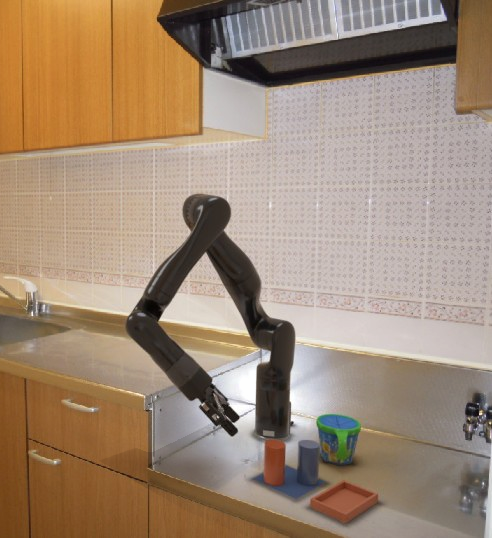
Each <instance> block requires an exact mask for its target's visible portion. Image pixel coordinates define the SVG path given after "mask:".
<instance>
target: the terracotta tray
mask: <svg viewBox="0 0 492 538" xmlns="http://www.w3.org/2000/svg"><path fill="white" fill-rule="evenodd" d="M309 500H310V501H309V502H310V503H309V506H310V508H311V509H313V510H315V511H317V512H320V513H321V514H324V515H326V516H328V517H331V518H333V519H335V520H337V521H340V522H342V523H344V524H347V523H349V522H350V521H351V520H353V519H355V518H357V517H358V516H359V515H361V514H362V513H364V512H365V511H367V510H368V509H369V508H371V507H372V506H374V505H376V504H377V503H378V501H379V493H377V492H375V491H372V490H370V489H367V488H365V487H362V486H360V485H357V484H355V483H352V482H349V481H347V480H345V479H343V480H340V481H339V482H337V483H336V484H334V485H332V486H330V487H329V488H327V489H325V490H323V491H322V492H320V493H318V494H316V495H315V496H313V497H311V498H310V499H309Z"/></svg>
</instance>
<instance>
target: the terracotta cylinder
mask: <svg viewBox="0 0 492 538" xmlns="http://www.w3.org/2000/svg"><path fill="white" fill-rule="evenodd" d="M286 450H287V444H286V443H285V442H284V441H279V440H267V441H265V440H264V446H263V473H264V476H263V480H264V482H265V483H266V484H269V485H272V486H281V485H283V484H284V483H285V465H286V456H287V455H286V454H287V453H286V452H287V451H286Z"/></svg>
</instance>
